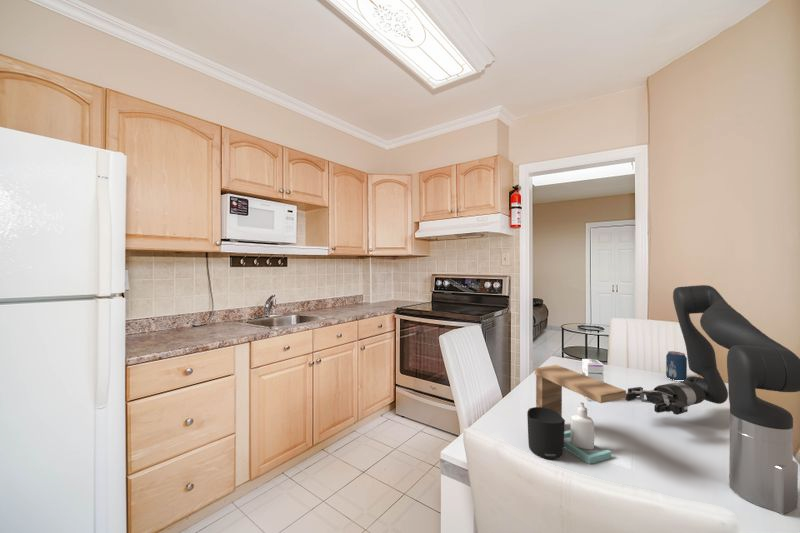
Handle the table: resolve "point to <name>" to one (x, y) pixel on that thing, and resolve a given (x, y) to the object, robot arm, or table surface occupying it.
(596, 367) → the syrup box
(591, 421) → the eye dropper bottle
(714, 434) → the table surface
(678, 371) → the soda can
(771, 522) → the table surface
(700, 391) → the robot arm
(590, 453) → the mint green tray
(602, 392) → the shelf
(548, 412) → the pen holder
